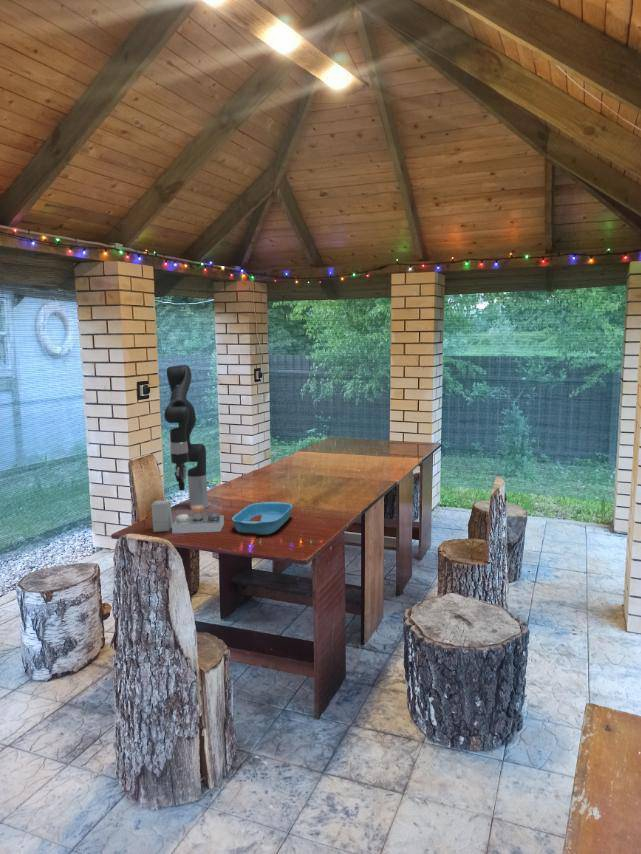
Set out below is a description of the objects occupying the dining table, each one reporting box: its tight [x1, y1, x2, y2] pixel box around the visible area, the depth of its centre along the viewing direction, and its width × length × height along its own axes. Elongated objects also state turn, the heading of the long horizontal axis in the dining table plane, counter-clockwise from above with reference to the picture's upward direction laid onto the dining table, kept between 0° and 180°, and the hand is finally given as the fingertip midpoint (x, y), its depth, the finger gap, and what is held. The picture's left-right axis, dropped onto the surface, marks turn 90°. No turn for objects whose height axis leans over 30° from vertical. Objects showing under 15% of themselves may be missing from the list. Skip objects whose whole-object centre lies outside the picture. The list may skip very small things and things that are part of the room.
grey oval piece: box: [175, 513, 189, 522], centre depth 263 cm, size 5×5×7 cm
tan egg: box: [191, 505, 205, 521], centre depth 263 cm, size 5×5×7 cm
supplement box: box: [150, 499, 173, 533], centre depth 267 cm, size 7×7×13 cm
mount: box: [171, 514, 225, 534], centre depth 264 cm, size 12×21×5 cm, turn 91°
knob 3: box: [207, 512, 221, 520], centre depth 264 cm, size 5×5×7 cm
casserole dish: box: [231, 501, 293, 536], centre depth 268 cm, size 37×22×7 cm, turn 167°
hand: (181, 490), depth 261 cm, fingers closed
